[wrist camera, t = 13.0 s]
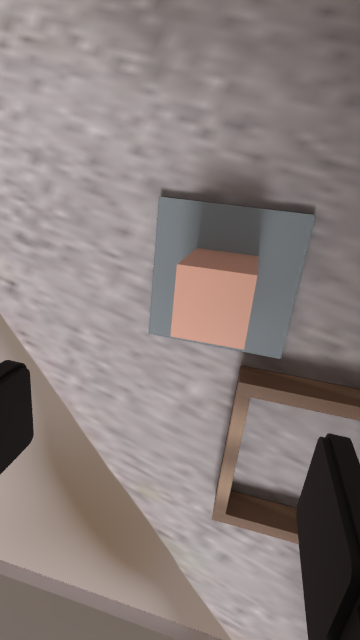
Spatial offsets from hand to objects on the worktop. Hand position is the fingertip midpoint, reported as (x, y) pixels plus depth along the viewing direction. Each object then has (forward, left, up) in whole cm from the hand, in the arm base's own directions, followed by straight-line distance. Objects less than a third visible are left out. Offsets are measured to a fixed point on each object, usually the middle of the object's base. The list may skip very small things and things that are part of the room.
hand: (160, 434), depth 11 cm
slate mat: (0, 0, -20) cm, 20 cm away
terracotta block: (0, 0, -19) cm, 19 cm away
